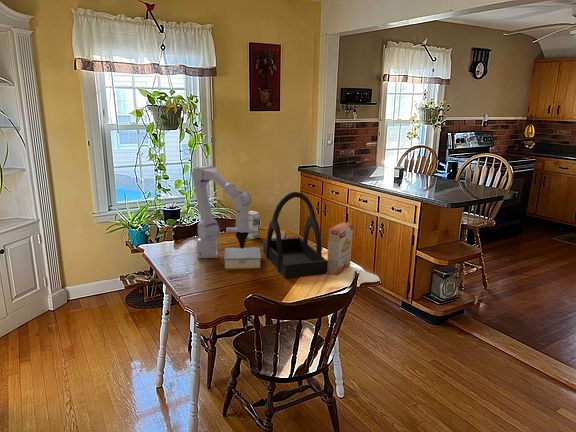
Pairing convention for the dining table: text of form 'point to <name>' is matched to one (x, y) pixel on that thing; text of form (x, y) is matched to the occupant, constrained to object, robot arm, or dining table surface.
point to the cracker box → (339, 248)
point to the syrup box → (253, 223)
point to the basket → (295, 246)
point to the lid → (242, 253)
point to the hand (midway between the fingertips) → (242, 247)
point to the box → (242, 264)
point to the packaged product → (283, 235)
